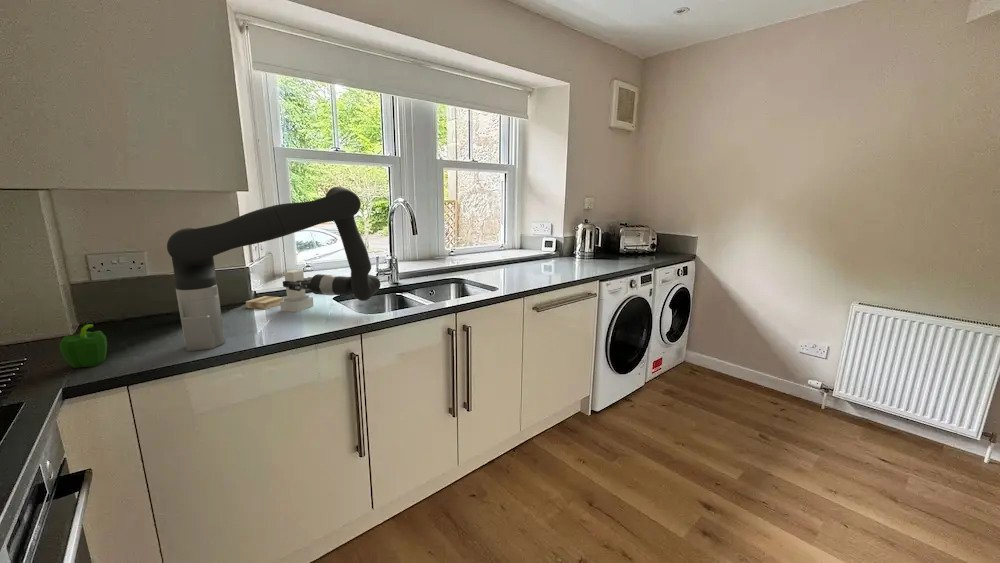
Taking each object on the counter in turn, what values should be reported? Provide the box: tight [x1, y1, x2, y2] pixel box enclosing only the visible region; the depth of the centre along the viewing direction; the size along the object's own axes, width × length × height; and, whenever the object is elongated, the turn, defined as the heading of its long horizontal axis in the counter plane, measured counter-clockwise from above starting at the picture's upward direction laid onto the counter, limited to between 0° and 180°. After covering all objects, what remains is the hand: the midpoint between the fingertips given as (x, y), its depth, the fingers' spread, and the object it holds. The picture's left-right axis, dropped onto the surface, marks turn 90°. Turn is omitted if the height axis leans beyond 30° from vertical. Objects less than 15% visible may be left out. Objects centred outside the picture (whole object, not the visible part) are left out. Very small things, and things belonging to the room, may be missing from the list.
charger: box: [283, 269, 307, 299], centre depth 149 cm, size 5×4×11 cm
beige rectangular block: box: [279, 294, 315, 313], centre depth 151 cm, size 9×7×4 cm
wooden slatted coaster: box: [245, 295, 284, 310], centre depth 154 cm, size 9×9×2 cm
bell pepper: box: [58, 323, 108, 369], centre depth 99 cm, size 8×8×10 cm
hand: (289, 282), depth 150 cm, fingers closed on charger, 5 cm apart
